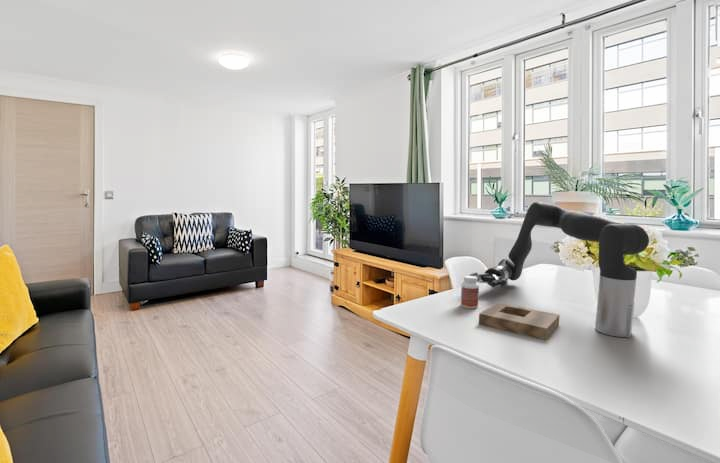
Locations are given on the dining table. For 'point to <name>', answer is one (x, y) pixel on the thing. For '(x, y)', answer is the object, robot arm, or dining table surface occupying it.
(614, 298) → the robot arm
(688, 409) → the dining table surface
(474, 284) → the pill bottle
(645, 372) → the dining table surface
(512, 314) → the socket block
